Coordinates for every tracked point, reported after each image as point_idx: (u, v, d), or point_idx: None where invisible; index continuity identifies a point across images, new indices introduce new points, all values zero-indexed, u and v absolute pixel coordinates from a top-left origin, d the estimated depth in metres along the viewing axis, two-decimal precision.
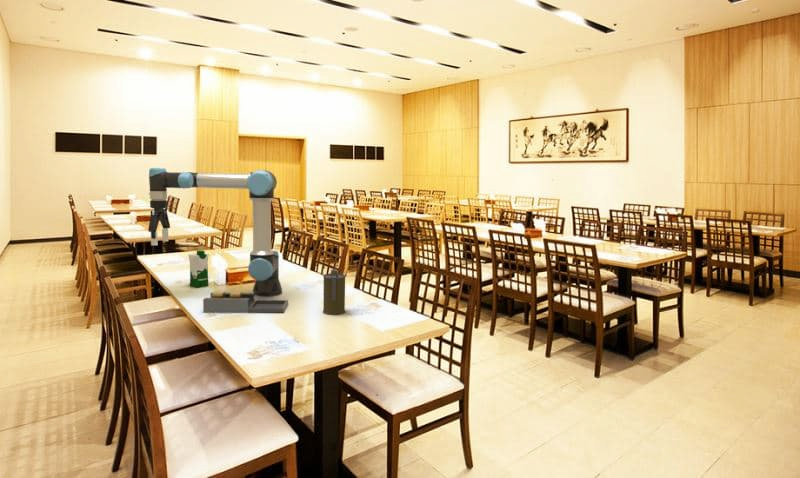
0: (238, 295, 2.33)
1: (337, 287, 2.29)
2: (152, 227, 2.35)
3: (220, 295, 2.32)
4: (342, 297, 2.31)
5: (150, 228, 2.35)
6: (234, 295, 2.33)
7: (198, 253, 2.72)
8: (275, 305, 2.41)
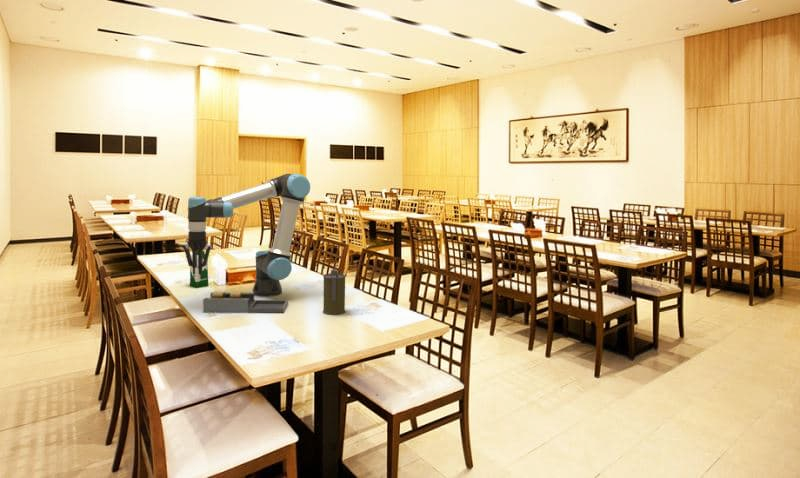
0: (238, 295, 2.33)
1: (338, 287, 2.29)
2: None
3: (220, 295, 2.32)
4: (342, 297, 2.31)
5: None
6: (234, 295, 2.33)
7: None
8: (275, 305, 2.41)
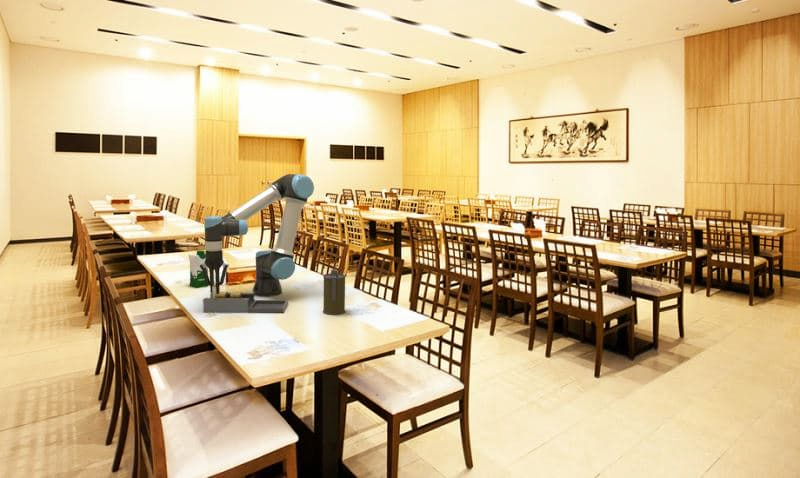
0: (238, 295, 2.33)
1: (337, 287, 2.29)
2: None
3: (223, 295, 2.32)
4: (342, 297, 2.31)
5: None
6: (234, 295, 2.33)
7: (198, 253, 2.72)
8: (275, 305, 2.41)
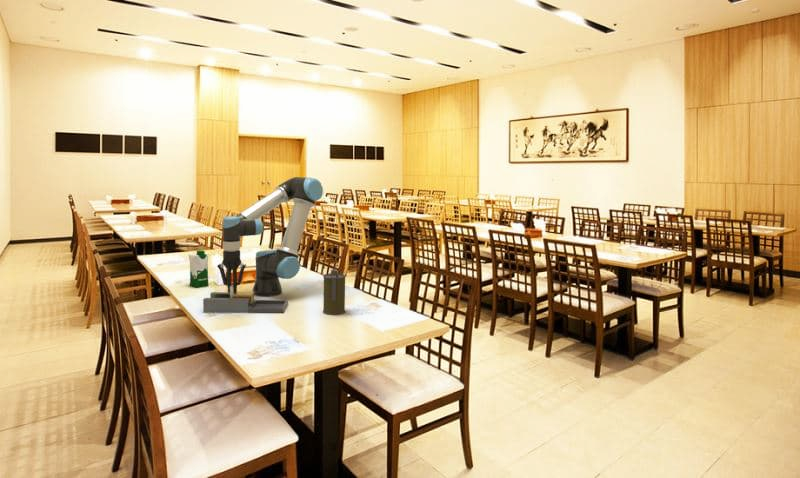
0: (250, 295, 2.33)
1: (337, 287, 2.29)
2: None
3: (240, 295, 2.33)
4: (342, 297, 2.31)
5: None
6: (246, 295, 2.33)
7: (198, 253, 2.72)
8: (275, 305, 2.41)
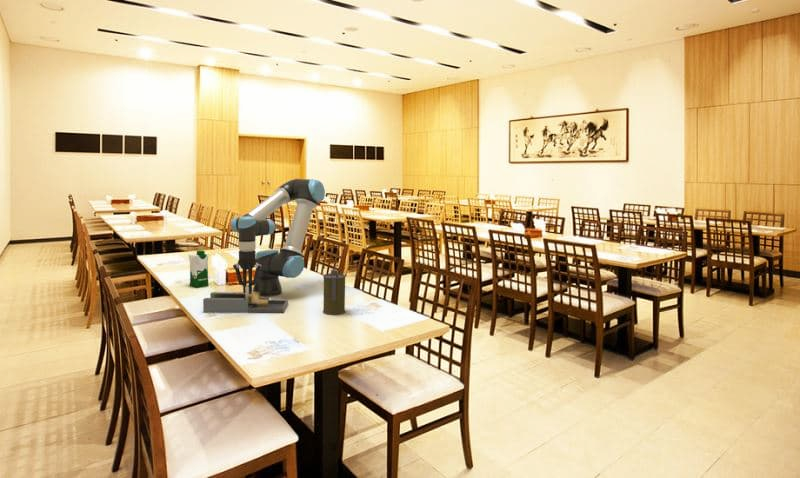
0: (266, 307, 2.34)
1: (338, 287, 2.29)
2: None
3: (256, 296, 2.33)
4: (342, 297, 2.31)
5: None
6: (266, 304, 2.34)
7: (198, 253, 2.72)
8: (275, 305, 2.41)
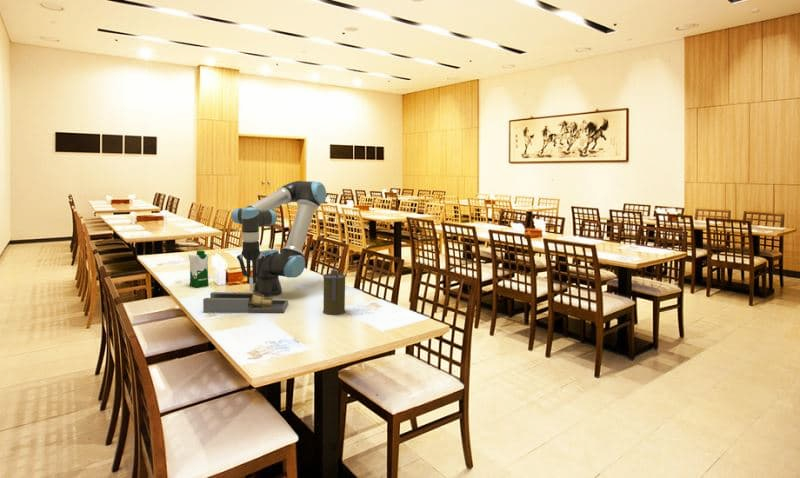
0: (269, 307, 2.35)
1: (337, 287, 2.29)
2: None
3: (260, 298, 2.34)
4: (342, 297, 2.31)
5: None
6: (269, 303, 2.34)
7: (198, 253, 2.72)
8: (275, 305, 2.41)
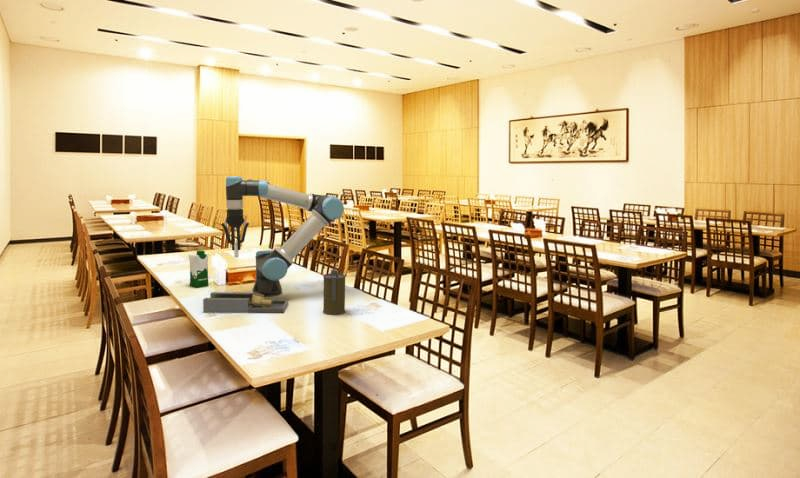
0: (269, 307, 2.35)
1: (337, 287, 2.29)
2: None
3: (260, 298, 2.34)
4: (342, 297, 2.31)
5: None
6: (269, 303, 2.34)
7: (198, 253, 2.72)
8: (275, 305, 2.41)
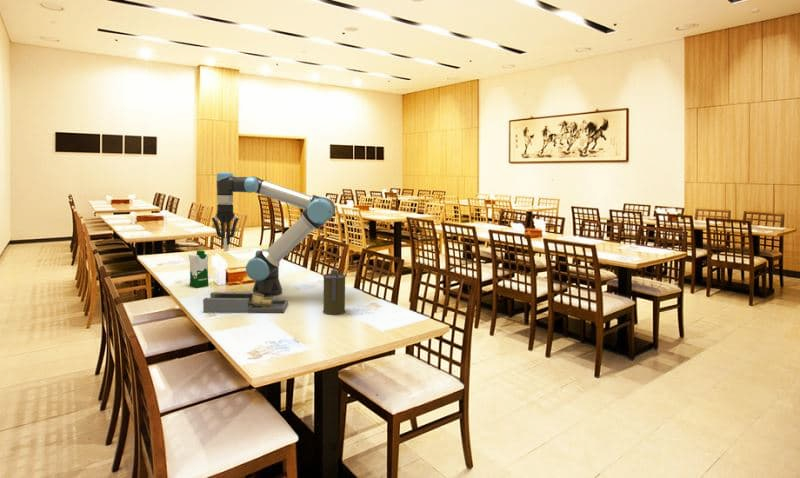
0: (269, 307, 2.35)
1: (337, 287, 2.29)
2: None
3: (260, 298, 2.34)
4: (342, 297, 2.31)
5: None
6: (269, 303, 2.34)
7: (198, 253, 2.72)
8: (275, 305, 2.41)
